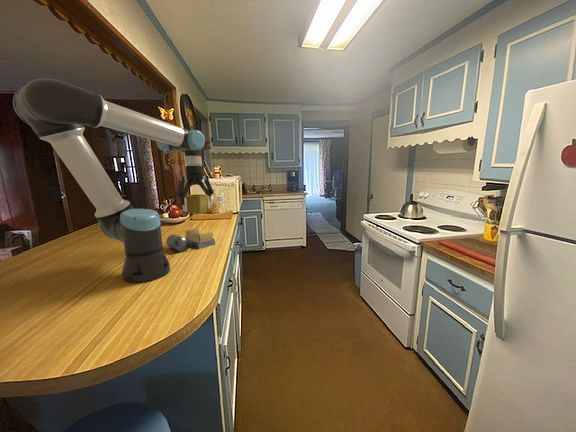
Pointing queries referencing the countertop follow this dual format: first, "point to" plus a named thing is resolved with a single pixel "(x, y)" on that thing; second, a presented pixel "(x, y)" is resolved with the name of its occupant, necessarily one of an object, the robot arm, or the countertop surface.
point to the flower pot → (196, 203)
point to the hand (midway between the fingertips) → (196, 209)
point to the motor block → (190, 240)
